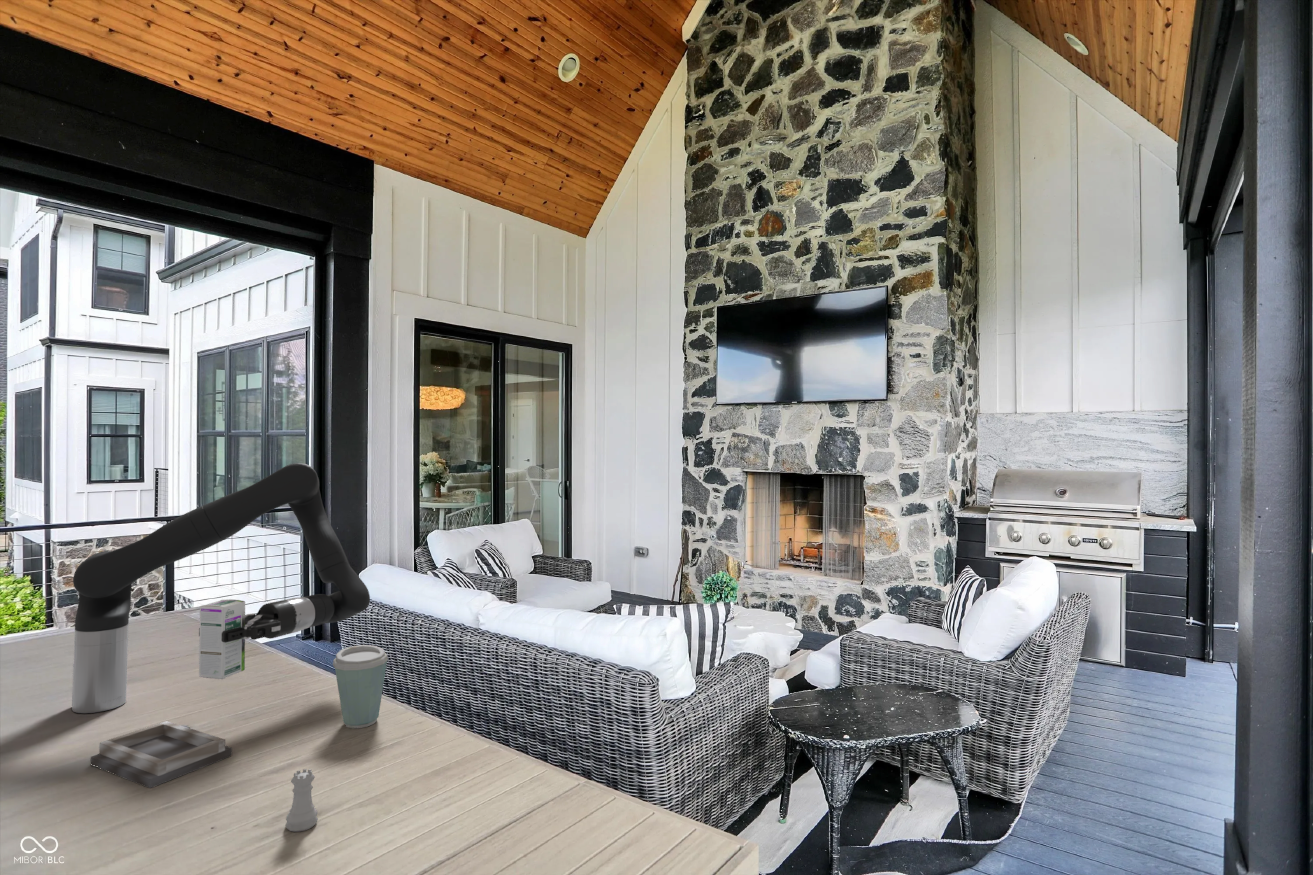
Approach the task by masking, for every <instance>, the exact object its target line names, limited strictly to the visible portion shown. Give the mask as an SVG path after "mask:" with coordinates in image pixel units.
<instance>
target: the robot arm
mask: <svg viewBox="0 0 1313 875" xmlns="http://www.w3.org/2000/svg"><path fill="white" fill-rule="evenodd" d="M318 476H319V475H318V473H317V472H316V470H315V469H314V467H312V466H310V465H309V464H308V463H307V464H306V463H302V462H294V463H290V464H287V465H284V466H283V467H281V468H280V469H278V470H276V471H274V472H273V473H271V474H270V475H268V476H266V477H264V478H263V479H261V480H258V481H257V482H255V483H253V484H251V485H249V486H247V487H244V488H243V489H240V490H237V491H234V492H232V493H230V494H227V495H224V496H222V497H220V498H217V499H215V500H213V501H211V502H208V503H205V504H203V505H201V506H199V507H197V508H195V509H194V508H193V509H192V510H189V511H187V512H185V513H183V514H182V515H179V516H178V517H176V518H174V519H172V520H171V521H169V522H166V523H165V524H163V525H162V526H160V527H159V528H157V529H156V530H154V531H153V532H151V533H149V534H148V535H146V536H145V537H143V538H141V539H139V540H136V541H135V542H132V543H130V544H127V545H124V546H122V547H120V548H117V549H113V550H103V551H99V552H96V553H94V554H92V555H90V556H89V557H87V558H86V559H85V560H83V561H82V562H81V563H80V564H79V565H78V566H77V568H76V570H75V572H74V574H73V579H72V583H73V588H74V589H75V591H76V592H77V593H78V604H77V610H76V613H75V614H76V615H75V618H74V640H73V642H74V643H73V644H74V646H73V665H72V691H71V692H72V693H71V694H72V696H71V707H72V708H71V711H72V712H74V713H77V714H92V713H99V712H100V713H101V712H104V711H105V712H106V711H109V710H113V709H115V708H118V707H120V706H123V705H124V704H125V703H127V686H128V685H127V684H128V657H129V656H128V655H129V654H128V652H129V649H128V648H129V622H130V621H129V619H130V611H131V605H132V604H131V603H132V602H131V601H132V586H133V585H132V583H134V582H136V581H137V580H139V579H141V578H142V577H145V576H147V575H148V574H150V573H151V572H153V571H155V570H158V569H160V568H162V567H164V566H168V565H169V564H172V563H175V562H177V561H180V560H182V559H185V558H187V557H190V556H192V555H194V554H198V553H199V552H201V551H204V550H206V549H209V548H211V547H213V546H214V545H217V544H219V543H221V542H223V541H225V540H227V539H229V538H230V537H232V536H234V535H236V534H237V533H238V532H240V531H241V530H243V529H244V528H246V527H247V526H249V525H250V524H251V523H253V522H255V520H256V519H258V518H260V517H261V516H262V515H264V514H267V513H268V512H270V511H272V510H275V509H277V508H280V507H282V506H285V505H287V504H288V506H289V507H290V509H291V510H292V513H293V514H294V515H295V517H296V519H297V521H298V523H299V525H300V527H301V530H302V532H303V537H305V542H306V545H307V547H308V550H309V554H310V556H311V559H312V561H313V564H314V566H315V567H314V568H316V571H317V574H318V576H319V578H320V580H321V581H322V582H323V583H324V584H331V583H332V584H334V585H335V586H336V587H337V589H338V591H336V592H333V593H330V594H324V593H317V594H311V595H306V596H302V597H301V596H300V597H291V598H287V599H282V600H277V601H273V602H268V603H265V604H263V605H262V606H260V608H259V609H258V611H257V613H247V614H245V626H243V627H242V628H241V627H238V628H234V629H230V630H226V631H223V632H222V639H221V640H222V642H225V643H226V642H230V641H234V640H238V639H245V640H248V639H250V640H253V641H256V640H257V639H258V640H259V639H262V638H265V639H275V638H278V637H283V636H286V635H291V634H294V633H298V632H300V631H303V630H306V629H308V628H312V627H316V626H321V625H323V624H333V623H338V622H342V621H345V620H349V618H352V617H354V616H357V615H358V614H360V613H362V612H364V611H366V610H367V608H369V605H370V601H371V599H370V598H371V596H370V592H369V589H368V587H367V585H366V584H365V583H364V581H363V580H362V579H361V577H360V576H359V575H358V574H357V573H356V571H355V570H354V569H353V568H352V566H351V565H350V562H349V560H348V557H347V556H346V553H345V550H344V549H343V548H344V547H343V546H342V544H341V542H340V540H339V538H338V536H337V534H336V532H335V530H334V528H333V526H332V525H331V523H330V520H329V518H328V516H327V512H326V510H325V507H324V504H323V500H322V494H321V491H320V479H319V477H318ZM198 637H200V627H199V628H198Z"/></svg>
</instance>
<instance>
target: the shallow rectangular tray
mask: <svg viewBox="0 0 1313 875" xmlns="http://www.w3.org/2000/svg"><path fill="white" fill-rule="evenodd" d="M98 745H99V747H98V748H99V749H98V754H95V755H91V756H90V765H91V764H92V765H95V766H98V767H99V768H101V769H100V770H102V769H104V770H103V771H105V770H107V771H109V772H108V773H110V772H111V773H110V774H112V773H114V774H113V775H115V774H116V775H115V776H118V777H120V776H121V777H120V778H123V779H125V780H128V781H131V782H133V783H135V784H138V785H139V786H140V785H141V786H143V787H146V788H148V789H152V788H154V787H156V786H159V785H162V784H165V783H167V782H169V781H172V780H174V779H177V778H179V777H182V776H184V775H187V774H189V773H191V772H194V771H197V770H199V769H201V768H205V767H207V766H209V765H211V764H212V765H213V764H215V763H217V762H221V761H222V760H225V759H227V758H230V757H232V756H233V748H232V746H228V745H226V738H223V737H218V736H215V735H212V734H209V733H206V732H203V731H200V730H197V729H193V728H190V727H187V726H183V725H180V724H177V723H174V722H171V721H167V720H166V721H162V722H159V723H156V724H152V725H150V726H147V727H143V728H140V729H138V730H135V731H131V732H129V733H125V734H122V735H119V736H116V737H113V738H109V739H106V740H103V741H101V742H99V744H98ZM231 755H232V756H231ZM229 756H230V757H229ZM92 765H91V766H92ZM99 768H98V769H99ZM107 771H106V772H107Z"/></svg>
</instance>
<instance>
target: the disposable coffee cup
mask: <svg viewBox="0 0 1313 875" xmlns="http://www.w3.org/2000/svg"><path fill="white" fill-rule="evenodd" d="M388 660H389V659H388V655H387V653H386V652H385V650H384V649H383V648H382V647H379V646H376V645H372V644H371V645H370V644H369V645H368V644H360V645H353V646H350V647H349V646H348V647H344V648H343V649H340V650H339V651H338V652H337V653H335V658H334V659H333V662H332V666H333V668H334V670H335V677H336V683H337V690H338V695H339V696H338V697H339V701H340V708H341V715H342V721H343V724H344V726H345V725H346V726H345V727H346V728H349V729H361V728H362V729H363V728H367V727H369V726H372V725H374V724H376V722H377V721H378V718H379V716H380V708H381V702H382V695H383V689H384V682H385V676H386V671H387V670H386V669H387V664H388V663H387V662H388Z"/></svg>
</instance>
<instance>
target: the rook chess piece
mask: <svg viewBox="0 0 1313 875" xmlns="http://www.w3.org/2000/svg"><path fill="white" fill-rule="evenodd" d="M315 778H316V776H315V775H314V774H313V771H312V769H310V768H309V769H308V770H307V768H303V769H302V772H301V770H300V769H299V770H297V771H296V772H294V773H293V777H292V779H291V780H290V782H291V784H292V785H293V789H292V792H293V799H292V804H291V807H290V809H289V812H288V813H287V816H286V818H285V820H286V822H285V827H286V829H287V831H289V832H291V833H293V832H294V833H299V832H300V833H301V832H304V831H308V830H309V829H311V828H313V827H314V826H315V825H316V824H317V822H318V820H319V818H318V811H317V809H316V807H315V805H314V803H313V797H312V790H313V788H314V787H313V785H312V783H313V781H314V780H315Z"/></svg>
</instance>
